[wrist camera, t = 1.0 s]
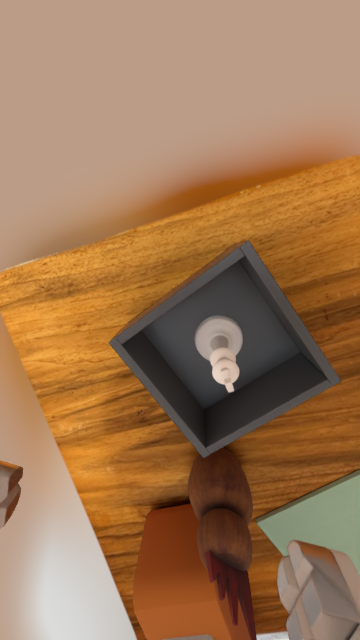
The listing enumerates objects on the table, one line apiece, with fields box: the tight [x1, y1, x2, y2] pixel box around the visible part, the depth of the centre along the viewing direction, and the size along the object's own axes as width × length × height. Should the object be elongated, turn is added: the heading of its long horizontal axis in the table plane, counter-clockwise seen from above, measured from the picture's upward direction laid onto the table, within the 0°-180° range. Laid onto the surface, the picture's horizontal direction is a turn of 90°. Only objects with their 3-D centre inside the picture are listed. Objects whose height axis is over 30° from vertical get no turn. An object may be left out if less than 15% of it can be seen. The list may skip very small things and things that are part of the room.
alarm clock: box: [133, 503, 251, 640], centre depth 31 cm, size 24×8×11 cm, turn 17°
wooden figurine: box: [188, 448, 257, 640], centre depth 25 cm, size 7×6×15 cm
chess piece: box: [194, 315, 243, 393], centre depth 23 cm, size 5×5×10 cm
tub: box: [109, 240, 341, 458], centre depth 25 cm, size 14×14×7 cm
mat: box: [256, 469, 360, 577], centre depth 33 cm, size 18×16×1 cm
